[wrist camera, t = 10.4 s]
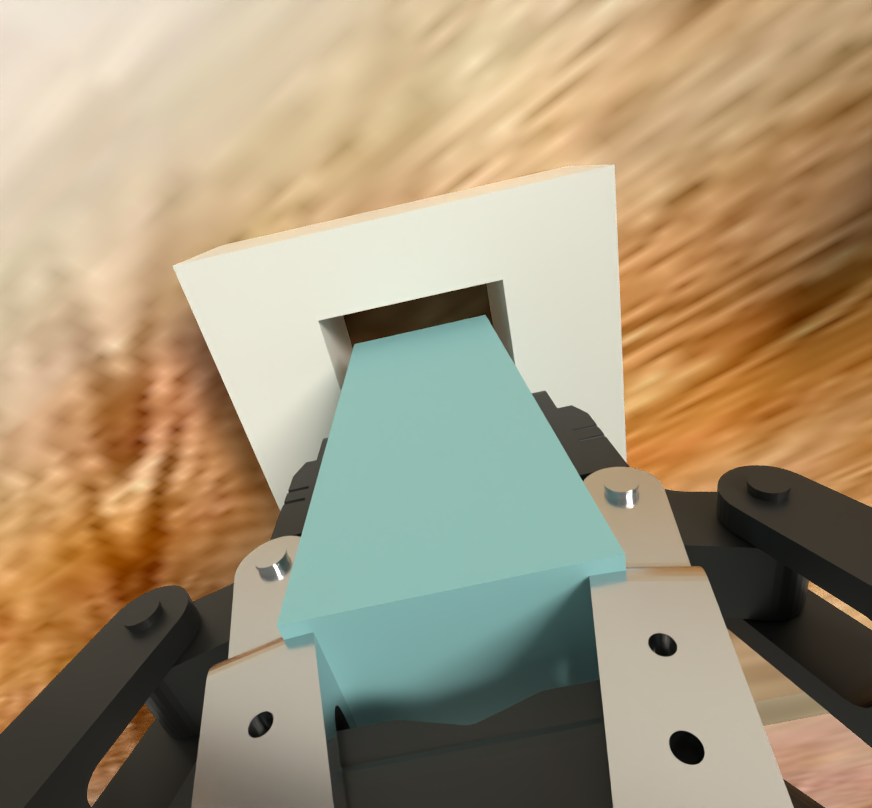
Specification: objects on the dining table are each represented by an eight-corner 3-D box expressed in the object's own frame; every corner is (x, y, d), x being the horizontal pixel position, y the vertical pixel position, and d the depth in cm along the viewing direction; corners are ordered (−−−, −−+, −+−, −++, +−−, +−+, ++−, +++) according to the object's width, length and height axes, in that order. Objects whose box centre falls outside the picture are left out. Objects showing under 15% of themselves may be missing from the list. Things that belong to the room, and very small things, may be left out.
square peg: (354, 344, 15) (276, 625, 6) (485, 314, 14) (624, 553, 5) (387, 455, 16) (370, 808, 7) (505, 429, 16) (635, 756, 7)
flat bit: (668, 591, 25) (740, 704, 20) (763, 572, 25) (862, 681, 20) (668, 615, 26) (737, 730, 21) (761, 596, 26) (854, 708, 21)
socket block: (222, 245, 17) (172, 265, 13) (567, 165, 16) (614, 164, 13) (373, 635, 25) (368, 712, 22) (601, 590, 25) (634, 661, 21)
